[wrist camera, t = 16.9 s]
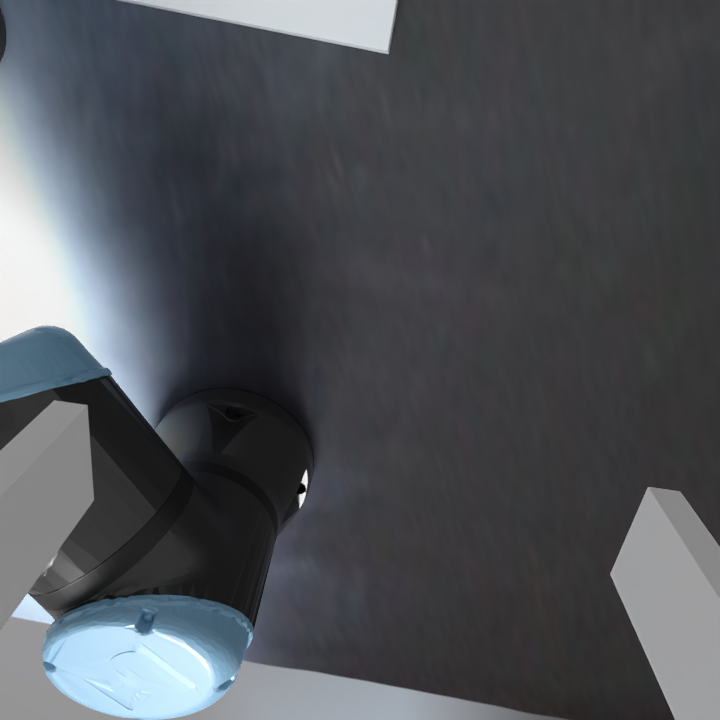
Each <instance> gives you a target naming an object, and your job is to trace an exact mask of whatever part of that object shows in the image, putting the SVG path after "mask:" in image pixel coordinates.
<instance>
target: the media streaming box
mask: <svg viewBox="0 0 720 720" xmlns="http://www.w3.org/2000/svg"><path fill="white" fill-rule="evenodd" d="M5 44H6V31H5V24H4V19H3V16H2V13H1V10H0V61H1V59H2V57H3V54H4V50H5Z"/></svg>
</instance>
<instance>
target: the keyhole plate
mask: <svg viewBox="0 0 720 720" xmlns="http://www.w3.org/2000/svg"><path fill="white" fill-rule="evenodd" d="M118 1H123V2H128V3H133V4H138V5H143V6H148V7H153V8H158V9H163V10H168V11H173V12H178V13H183V14H188V15H193V16H198V17H203V18H208V19H213V20H218V21H224V22H229V23H234V24H239V25H244V26H249V27H254V28H259V29H264V30H269V31H274V32H279V33H284V34H289V35H294V36H299V37H304V38H309V39H314V40H319V41H324V42H330V43H335V44H340V45H345V46H350V47H355V48H360V49H365V50H370V51H375V52H380V53H385V54H389V51H390V45H391V39H392V34H393V28H394V22H395V17H396V11H397V5H398V0H118Z"/></svg>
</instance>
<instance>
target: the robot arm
mask: <svg viewBox="0 0 720 720" xmlns="http://www.w3.org/2000/svg"><path fill="white" fill-rule="evenodd" d="M111 375H112V373H111V371H110V370H109V369H108V368H104V367H102V365H101V364H100V363H99V362H98V361H97V360H96V359H95V358H94V357H93V356H92V355H91V354H90V353H89V352H88V351H87V349H86V348H85V347H84V346H83V345H82V344H81V343H80V342H79V340H78V339H77V338H76V337H75V336H74V335H73V334H71V333H70V332H68V331H67V330H65V329H62V328H59V327H55V326H40V327H36V328H33V329H30V330H28V331H25V332H23V333H20V334H18V335H16V336H14V337H12V338H9V339H7V340H5V341H3V342H1V343H0V630H1V629H2V628H3V626H4V625H5V623H6V622H7V621H8V619H9V618H10V616H11V615H12V614H13V612H14V611H15V609H16V608H17V607H18V605H19V604H20V603H21V601H22V600H23V598H24V597H25V596H26V594H27V593H28V594H29V595H30V596H32V597H33V598H34V599H35V600H36V601H37V602H38V603H39V604H40V605H41V606H42V607H43V608H44V609H45V610H46V611H47V612H48V613H49V614H50V615H51V616H52V617H53V618H54V619H55V622H53V623H52V625H51V626H50V628H49V629H48V630H47V633H46V635H45V638H44V641H45V643H44V646H43V649H42V657H43V660H44V662H43V663H44V664H43V667H44V670H45V673H46V675H47V676H48V678H49V679H50V681H51V682H52V683H53V684H54V685H55V686H56V687H57V688H58V689H59V690H60V691H61V692H63V693H64V694H65V695H66V696H68V697H70V698H71V699H73V700H74V701H76V702H78V703H80V704H82V705H84V706H86V707H88V708H91V709H94V710H97V711H99V712H102V713H106V714H109V715H113V716H118V717H124V718H135V719H144V720H160V719H170V718H176V717H181V716H185V715H188V714H192V713H195V712H198V711H200V710H202V709H204V708H206V707H208V706H209V705H211V704H213V703H215V702H216V701H217V700H219V699H220V698H221V697H222V696H223V695H224V694H225V693H226V692H227V691H228V690H229V688H230V687H231V686H232V684H233V682H234V681H235V679H236V677H237V675H238V672H239V669H240V666H241V663H242V660H243V658H244V655H245V652H246V649H247V648H248V646H249V645H250V643H251V640H252V638H253V631H254V626H255V622H256V618H257V614H258V610H259V606H260V602H261V598H262V594H263V590H264V585H265V581H266V577H267V573H268V569H269V565H270V561H271V557H272V553H273V549H274V544H275V541H276V538H277V536H278V535H279V534H280V533H281V531H282V530H283V529H284V528H285V527H286V525H287V524H288V523H289V522H290V521H291V519H292V518H293V517H294V516H295V515H296V513H297V512H298V511H299V510H300V508H301V507H302V505H303V503H304V501H305V499H306V497H307V494H308V491H309V488H310V483H311V479H312V474H313V454H312V450H311V446H310V443H309V441H308V439H307V436H306V435H305V433H304V431H303V430H302V428H301V427H300V425H299V424H298V423H297V421H296V420H295V419H294V418H293V417H292V416H291V415H290V414H289V413H288V412H286V411H285V410H284V409H283V408H281V407H280V406H278V405H277V404H275V403H274V402H272V401H270V400H268V399H266V398H264V397H262V396H259V395H257V394H254V393H251V392H247V391H242V390H236V389H211V390H205V391H201V392H198V393H195V394H192V395H190V396H188V397H186V398H184V399H182V400H181V401H179V402H178V403H176V404H175V405H174V406H173V407H172V408H171V409H170V410H169V411H168V412H167V413H166V415H165V416H164V417H163V419H162V420H161V422H160V423H159V425H158V426H157V428H156V429H155V430H154V429H153V428H152V427H151V425H150V424H149V423H148V422H147V421H146V419H145V418H144V417H143V416H142V414H141V413H140V412H139V411H138V409H137V408H136V407H135V406H134V404H133V403H132V402H131V401H130V399H129V398H128V397H127V395H126V394H125V393H124V392H123V390H122V389H121V388H120V387H119V385H118V384H117V383H116V382H115V380H114V379H113V378H112V377H111ZM610 575H611V577H612V579H613V582H614V584H615V586H616V588H617V591H618V593H619V595H620V597H621V600H622V602H623V604H624V606H625V608H626V611H627V613H628V615H629V617H630V620H631V622H632V624H633V626H634V629H635V631H636V633H637V635H638V638H639V640H640V642H641V644H642V647H643V649H644V651H645V653H646V655H647V658H648V660H649V662H650V664H651V667H652V669H653V671H654V673H655V676H656V678H657V680H658V682H659V685H660V687H661V689H662V691H663V694H664V696H665V698H666V700H667V702H668V705H669V707H670V709H671V711H672V714H673V716H674V718H675V720H720V547H719V545H718V544H717V543H716V541H715V540H714V538H713V537H712V536H711V534H710V533H709V531H708V530H707V529H706V527H705V526H704V524H703V523H702V521H701V520H700V519H699V517H698V516H697V514H696V513H695V512H694V510H693V509H692V507H691V506H690V505H689V503H688V502H687V500H686V499H685V498H684V496H683V495H682V493H681V492H680V491H673V490H666V489H659V488H652V487H648V488H647V490H646V493H645V495H644V497H643V500H642V502H641V504H640V507H639V509H638V511H637V514H636V516H635V518H634V520H633V523H632V525H631V527H630V530H629V532H628V534H627V537H626V539H625V541H624V544H623V546H622V548H621V550H620V553H619V555H618V557H617V560H616V562H615V564H614V567H613V569H612V571H611V573H610Z"/></svg>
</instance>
